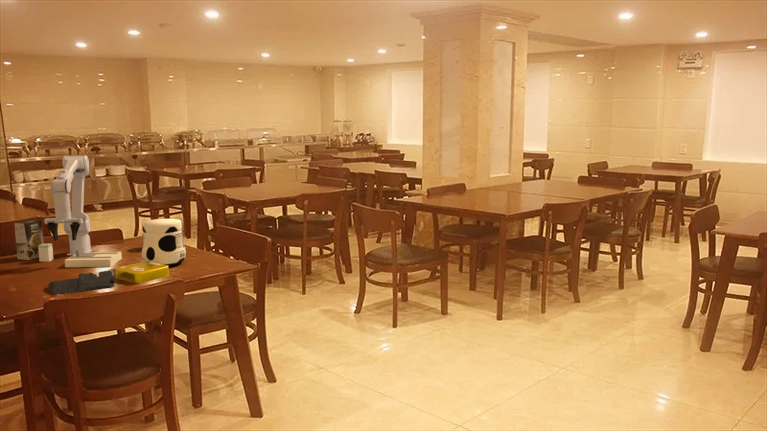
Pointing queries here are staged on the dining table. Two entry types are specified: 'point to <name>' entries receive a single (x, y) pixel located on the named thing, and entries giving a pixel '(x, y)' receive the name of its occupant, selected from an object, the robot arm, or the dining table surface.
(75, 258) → the socket
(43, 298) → the dining table surface
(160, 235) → the milk container
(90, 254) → the shutter
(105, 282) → the dark slate chunk
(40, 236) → the coffee box
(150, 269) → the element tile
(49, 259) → the plug
